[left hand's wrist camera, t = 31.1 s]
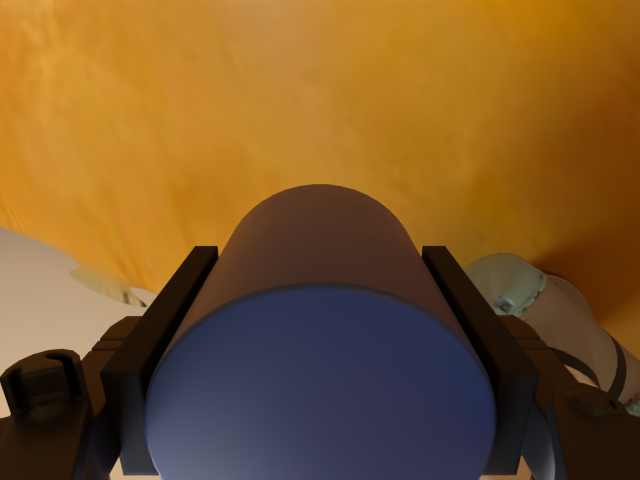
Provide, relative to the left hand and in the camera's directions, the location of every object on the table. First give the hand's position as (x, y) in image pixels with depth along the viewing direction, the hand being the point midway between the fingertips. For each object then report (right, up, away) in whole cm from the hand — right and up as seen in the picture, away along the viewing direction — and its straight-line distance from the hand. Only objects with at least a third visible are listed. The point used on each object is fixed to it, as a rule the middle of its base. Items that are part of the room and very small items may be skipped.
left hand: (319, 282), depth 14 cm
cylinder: (0, 0, 0) cm, 0 cm away
